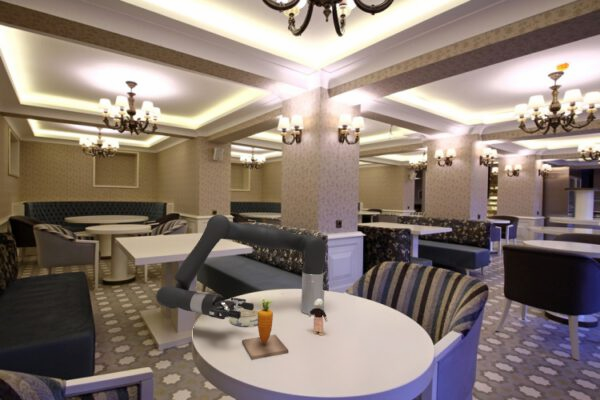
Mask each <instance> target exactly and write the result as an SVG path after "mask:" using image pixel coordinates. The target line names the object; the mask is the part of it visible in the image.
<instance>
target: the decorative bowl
mask: <svg viewBox="0 0 600 400" xmlns="http://www.w3.org/2000/svg"><path fill="white" fill-rule="evenodd" d="M238 311H240V312H241V318H239V319H237V318H232V317H229V318H228V323H229V324H230V325H232V326H233V327H239V328H253V327H258V312H259V310H257V309H255V308H254V309H253V310H247V309H238Z"/></svg>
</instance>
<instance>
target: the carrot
mask: <svg viewBox="0 0 600 400" xmlns="http://www.w3.org/2000/svg"><path fill="white" fill-rule="evenodd" d="M271 303H272V300H270V299H269V300H268V299H267V300H265V298H263V299H262V303H261V304H262V308H261V309H260V310H258V326H257V329H258V337H260V339H261V341H262V343H263V344H264V345H265V344H266V342H267V341H268V339H269V336H270V335H271V332H272V329H273V320H274V319H273V318H274V313H273V311H272V310H271V309H270V308H271V307H270V306H269V305H270V304H271Z"/></svg>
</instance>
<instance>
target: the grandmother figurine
mask: <svg viewBox="0 0 600 400" xmlns="http://www.w3.org/2000/svg"><path fill="white" fill-rule="evenodd" d="M322 304H323V300H322V299H317V300H316V301H315V302H314V305H315V306H316V308H314V309H312V310H311V311H310V313H309V314H308V317H309V318H311V317H312V316H313V315H312V314H315V315H314V317H313V334H314V335H317V334H318V335H319V336H325V335H326V332H325V331H324V322H328V321H329V320H328V317H327V313H326V312H325V309H324V310H322V309H320V308H322Z"/></svg>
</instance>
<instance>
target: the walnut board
mask: <svg viewBox="0 0 600 400" xmlns="http://www.w3.org/2000/svg"><path fill="white" fill-rule="evenodd" d="M241 344H242V346H243V347H244V350H245V351H246V352H247V354H248V356H249V358H250V360H252V361H253V360H259V359H263V358H268V357H273V356H279V355H283V354H289V349H288V348H287V346H286V345H285V343H283V341H281V340H280V338H279V337H278V335H276V334H270V336H269V339H268V341H267V342H266V344H265V345H264V344H263V343H262V341H261V339H260V336H258V337H252V338H245V339H244V338H243V339H241Z"/></svg>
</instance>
